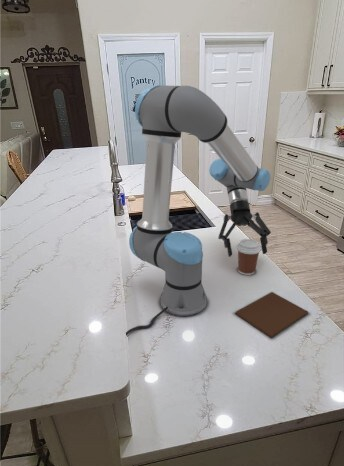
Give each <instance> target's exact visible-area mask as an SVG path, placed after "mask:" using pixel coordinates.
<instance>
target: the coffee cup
mask: <svg viewBox="0 0 344 466" xmlns="http://www.w3.org/2000/svg"><path fill="white" fill-rule="evenodd" d="M235 248H236V250H237V252H238V253H237V271H238V273H240V274H241V275H244V276H246V275H247V276H251V275H254V274H255V273H256V269H257V268H256V267H257V264H258V259H259V254H260V253H261V252H262V246H261V244H260V242H259V241H257V240H256V239H252V238H243V239H241V240H239V242H238V243H237V244H236V247H235Z"/></svg>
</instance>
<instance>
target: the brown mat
mask: <svg viewBox="0 0 344 466" xmlns="http://www.w3.org/2000/svg"><path fill="white" fill-rule="evenodd" d="M234 314H235V315H236V316H238V317H239V318H241V319H243V320H244V322H246V323H248V324H249V325H251V326H253V327H254V328H256V329H257V330H258V331H260V332H262V333H263V334H265V335H266V336H267V337H269V338H271V339H272V338H274V337H275V336H276V335H278V334H280V333H281V332H283V331H284V330H286V329H287V328H289V327H290V326H292V325H293V324H295V323H297V322H298V321H299V320H301V319H302V318H304V317H306V316H307V315H308V314H309V311H307V310H306V309H304V308H302V307H301V306H298V305H297V304H295V303H293V302H292V301H289V299H288V300H287V299H286V298H284V297H282V296H280V295H279V294H277V293H275V292H273V291H271V292H269V293H267V294H266V295H264V296H262V297H260V298H259V299H257V300H254V301H253V302H251V303H249V304H248V305H245V306H243V307H241V308H240V309H238V310H235V313H234Z"/></svg>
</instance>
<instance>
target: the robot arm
mask: <svg viewBox="0 0 344 466" xmlns="http://www.w3.org/2000/svg"><path fill="white" fill-rule="evenodd" d="M134 115H135V118H136V120H137V123H138V124H139V126H141V136H142V137H143V138H144V139H145V141H146V145H145V148H146V149H145V165H144V179H143V198H142V213H141V214H142V216H141V218H140V220H138V221H137V222H136V226H135V227H133V229H132V232H130V235H129V239H128V245H129V249H130V251H131V253H132V254H133V255H134V256H135V257H136V258H137V259H139V260H140V261H142V262H146V263H147V264H150V265H152V266H154V267H156V268H158V269H160V270H162V271H164V276H165V277H164V278H165V283H164V287H163V289H162V292H161V295H160V305H161V307H162V310H161V311H160V312H158V313H157V314H156V315H155V316H154V317H152V319H151V321H150V322H149V324H147V325H137V326H135V327H132V328H130V329H128V330H127V331H126V332H125V333H126V337H127V336H128V335H129V334H130V333H131V332H134V331H136V330H139V329H148V328H150V327H152V325H153V324H154V321H155V320H156V319H158V318H159V317H160V316H161V315H162V314H163V313H165V312H167V313H169V314H170V315H173V316H177V317H178V316H179V317H189V316H190V317H191V316H194V315H197V314H199V313H201V312H202V311H204V309H205V308H206V306H207V294H206V291H205V288H204V286H203V284H202V283H203V282H202V278H203V276H202V275H203V258H204V252H203V243H202V242H201V240H200V238H199V237H198V236H196V235H194V234H192V233H190V232H186V231H184V232H182V231H174V232H173V223H171V221H170V220H169V217H170V208H171V207H170V205H171V194H172V184H173V183H172V182H173V173H174V171H173V170H174V160H175V149H176V144H177V143H178V142H179V141H180V140H181V138H182V133H185V134H190V135H192V136H194V137H196V138H197V139H198V140H199V141H200V142H201V143H204V144H207V145H208V146H209V147H210V148H211V150H212V151H213V152H214V153H215V154H216V155H217V156H218V158H217V159H214V160H213V161H212V162H211V164H210V166H209V169H208V170H209V175H210V177H211V178H213V179H214V180H215V181H217V182H218V183H220V184H221V185H222V186H224V187H225V188H226V191H227V198H228V204H229V210H230V215H228V214H227V213H225V215H224V216H223V223H222V226H221V228H220V231H219V234H218V237H217V238H218V240H222V241H223V246H224V248H225V249H226V250H227V256H228V257H229V258H230V257H232V255H233V251H232V244H231V239H230V238H229V236H230V234H231V233H232V232H233V230H234V229H235V227H236V226H237V227H245V226H246V227H248V228H251V229H252V230H253V231H254V232H256V234H258V235H259V236H260V238H259V241H260V246H261V252H262V255H265V254H267V253H268V248H267V245H268V236H269V235H270V234H271V233H272V232H271V230H270V229H269V227H268V226H267V224H266V223H265V221H264V220H263V219H262V218H261V216H260V213H259V212H255V213H251V208H250V203H249V195H248V191H247V189H248V190H252V191H258V192H264V191H266V189H267V188H268V187H269V185H270V182H271V173H270V171H269V170H267V169H264V168H259V166H258V165H257V164H256V162H255V161H254V160H253V158H252V157H251V156H250V154H249V152H248V151H247V150H246V148H245V147H244V145H243V144H242V143H241V141H240V140H239V139H238V137H237V136H236V134H235V133H234V132H233V130H232V129H231V128H230V126H229V125H228V121H229V120H228V117H227V116H226V114H225V113H224V111H223V110H222V109H221V107H220V106H219V105H218V104H217V102H216V101H214V99H212V98H211V97H210V96H208V95H207V94H206V93H205V92H203V90H201V89H199V88H197V87H194V86H192V85H165V84H163V85H161V84H158V85H155V86H149V87H146V88H145V89H143V91H142V92H141V93H139V95H138V97H137V99H136V103H135V105H134ZM230 220H231V221H232V222H233V223H232V224H231V226H230V227H229V229H228V230H227V232H226V233H225V231H226V229H227V225H228V222H229V221H230ZM254 220H255V221H254ZM255 222H256V223H255ZM224 233H225V234H224Z"/></svg>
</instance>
